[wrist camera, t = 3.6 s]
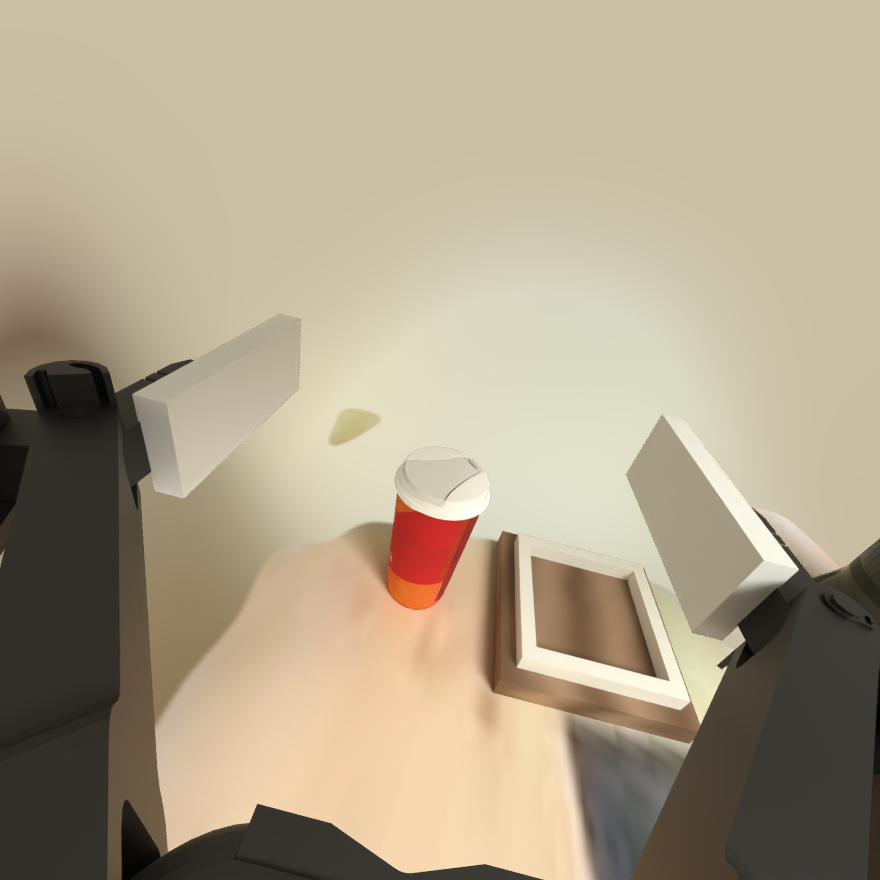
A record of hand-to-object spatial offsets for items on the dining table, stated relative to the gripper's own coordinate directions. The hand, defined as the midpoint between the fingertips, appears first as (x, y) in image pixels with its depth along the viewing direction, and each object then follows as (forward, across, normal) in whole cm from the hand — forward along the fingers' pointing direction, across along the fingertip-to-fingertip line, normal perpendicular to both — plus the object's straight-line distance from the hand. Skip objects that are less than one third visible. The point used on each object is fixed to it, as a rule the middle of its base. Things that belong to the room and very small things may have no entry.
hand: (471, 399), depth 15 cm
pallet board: (+12, +16, -26) cm, 33 cm away
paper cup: (+12, 0, -26) cm, 29 cm away
